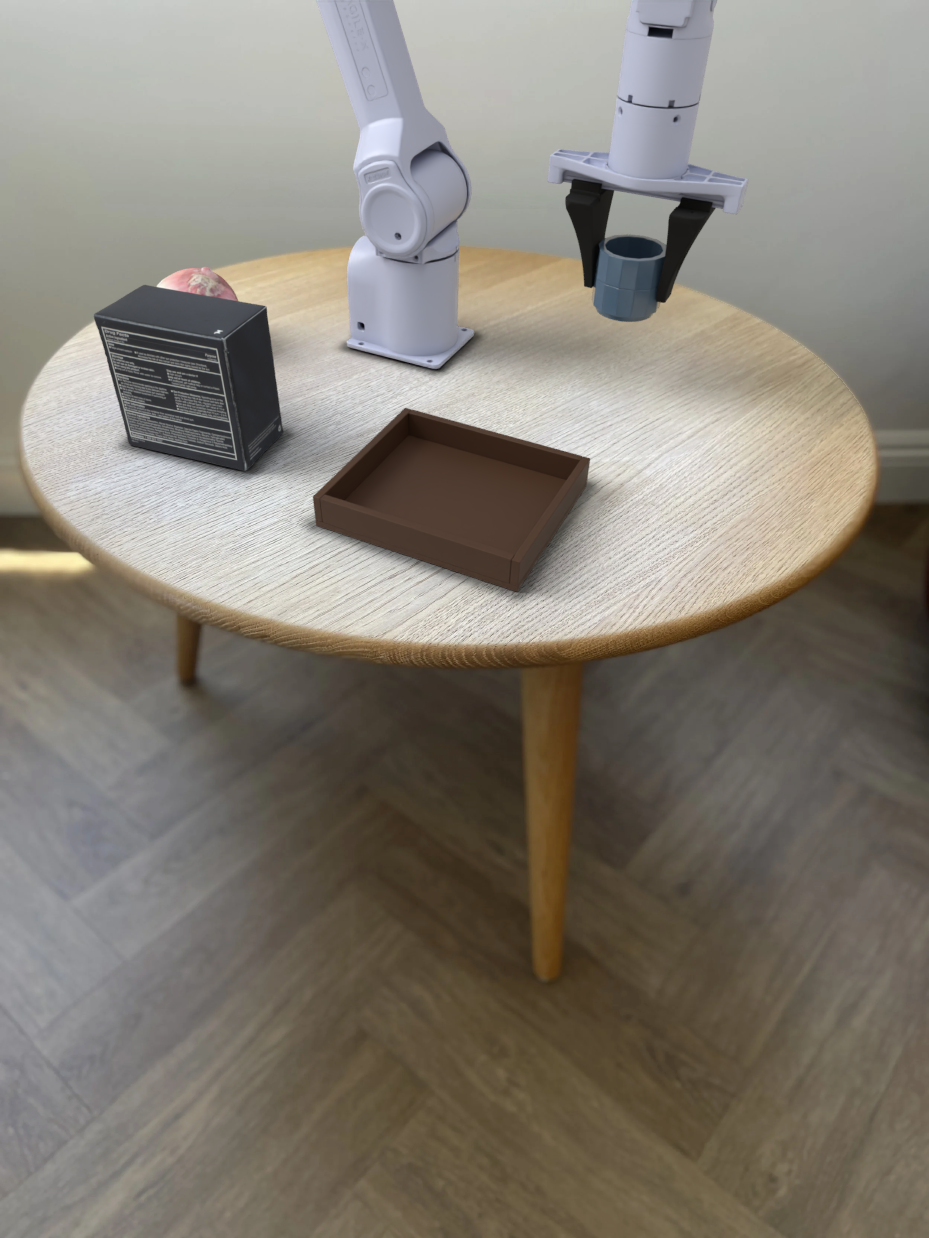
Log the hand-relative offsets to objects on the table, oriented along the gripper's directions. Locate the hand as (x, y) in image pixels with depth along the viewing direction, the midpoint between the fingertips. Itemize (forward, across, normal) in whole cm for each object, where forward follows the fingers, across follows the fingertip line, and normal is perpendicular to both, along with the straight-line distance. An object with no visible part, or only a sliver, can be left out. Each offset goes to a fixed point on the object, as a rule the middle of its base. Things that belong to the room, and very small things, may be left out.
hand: (627, 290), depth 70 cm
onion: (+9, +36, +11) cm, 38 cm away
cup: (+2, 0, 0) cm, 2 cm away
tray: (+8, +5, +22) cm, 24 cm away
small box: (+9, +26, +23) cm, 35 cm away
